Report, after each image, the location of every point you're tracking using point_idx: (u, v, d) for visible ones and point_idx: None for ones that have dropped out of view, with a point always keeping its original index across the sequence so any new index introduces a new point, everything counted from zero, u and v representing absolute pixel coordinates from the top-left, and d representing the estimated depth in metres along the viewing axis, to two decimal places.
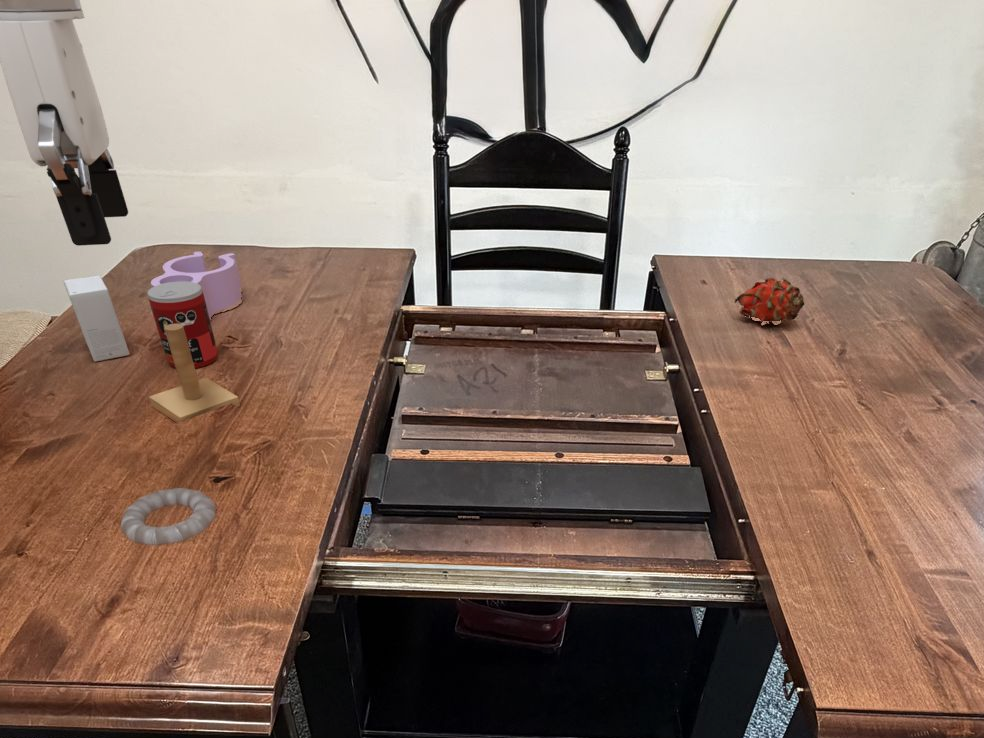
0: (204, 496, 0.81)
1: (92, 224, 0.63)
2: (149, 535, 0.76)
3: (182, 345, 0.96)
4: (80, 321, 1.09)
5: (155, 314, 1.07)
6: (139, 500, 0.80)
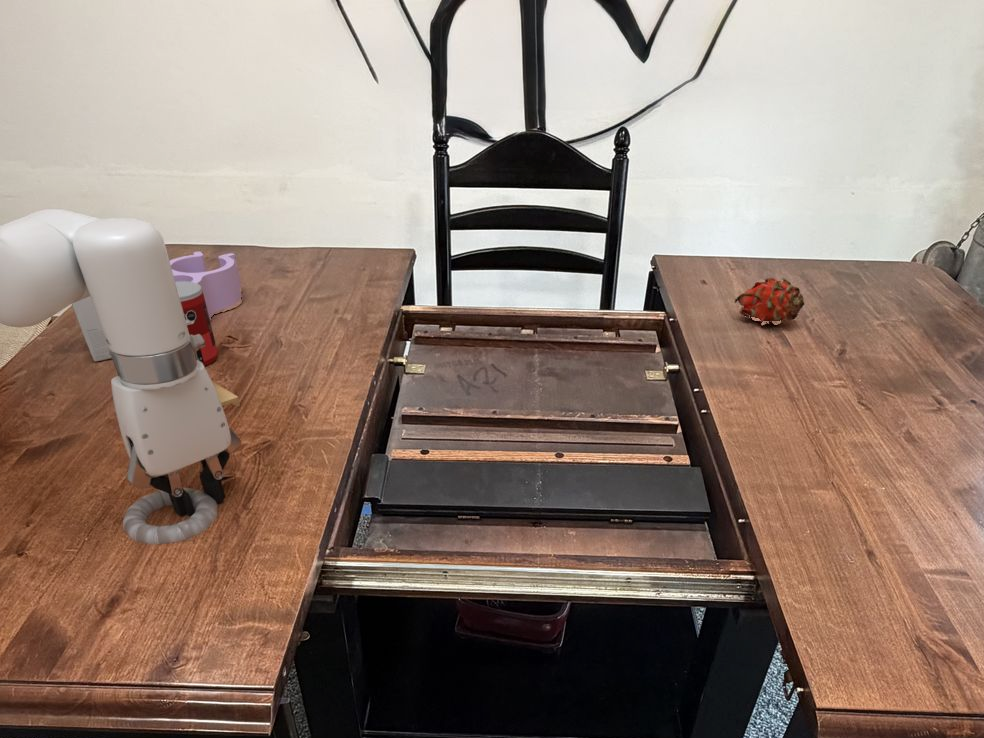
0: (206, 495, 0.81)
1: (179, 511, 0.80)
2: (151, 534, 0.76)
3: None
4: (80, 321, 1.09)
5: None
6: (141, 499, 0.80)
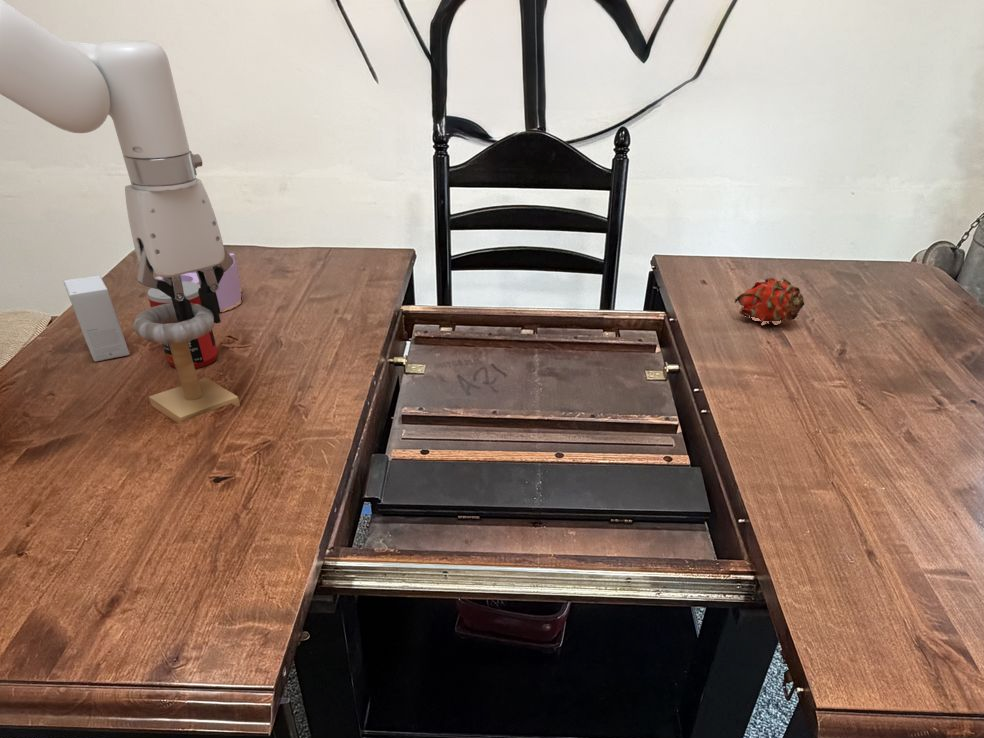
0: (204, 307, 0.96)
1: (181, 317, 0.95)
2: (157, 328, 0.91)
3: (182, 345, 0.96)
4: (80, 321, 1.09)
5: None
6: (149, 308, 0.95)
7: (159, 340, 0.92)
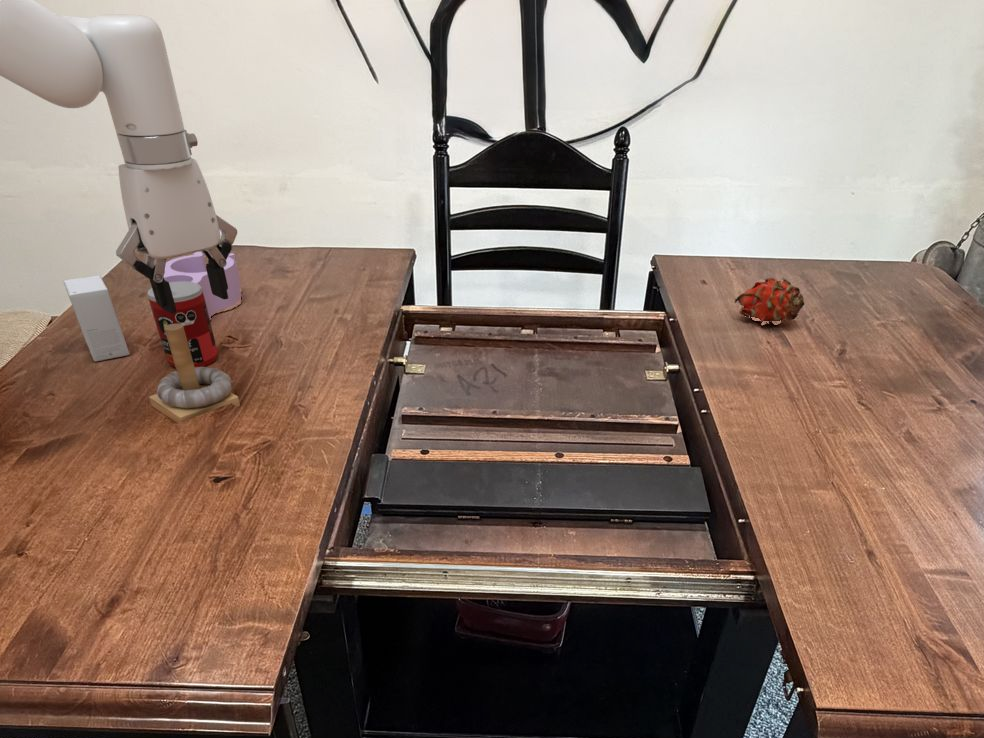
0: (222, 372, 1.03)
1: (160, 299, 0.92)
2: (179, 395, 0.97)
3: (182, 345, 0.96)
4: (80, 321, 1.09)
5: (155, 314, 1.07)
6: (171, 373, 1.02)
7: (180, 405, 0.98)
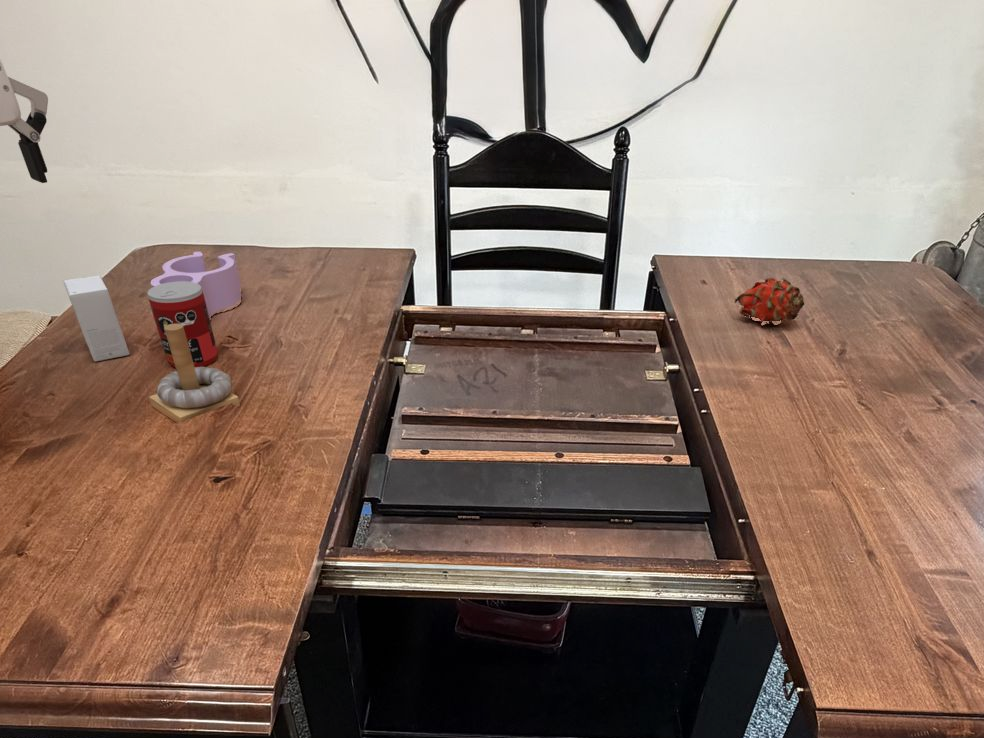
0: (222, 372, 1.03)
1: None
2: (179, 395, 0.97)
3: (182, 345, 0.96)
4: (80, 321, 1.09)
5: (155, 314, 1.07)
6: (171, 373, 1.02)
7: (180, 405, 0.98)
